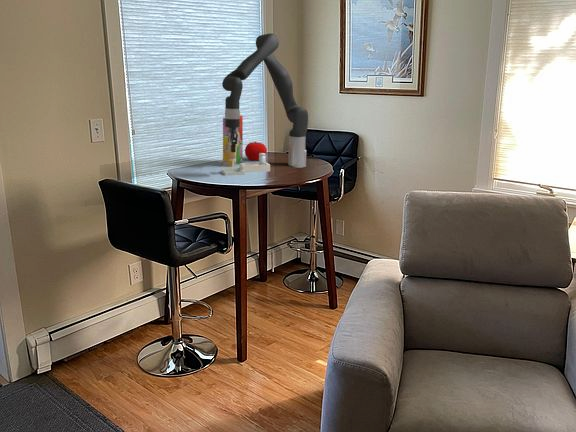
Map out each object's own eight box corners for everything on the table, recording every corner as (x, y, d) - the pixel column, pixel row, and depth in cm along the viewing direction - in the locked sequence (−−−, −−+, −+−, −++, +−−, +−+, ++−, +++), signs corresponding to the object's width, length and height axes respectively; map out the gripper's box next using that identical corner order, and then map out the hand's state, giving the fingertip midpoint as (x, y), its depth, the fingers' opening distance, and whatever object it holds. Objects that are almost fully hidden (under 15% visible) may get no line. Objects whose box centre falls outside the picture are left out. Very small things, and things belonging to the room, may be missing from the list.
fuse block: (266, 170, 294) (266, 162, 292) (270, 173, 287) (270, 164, 286) (239, 171, 289) (239, 163, 288) (242, 174, 283) (242, 165, 281)
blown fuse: (234, 159, 280) (234, 142, 278) (236, 160, 277) (236, 143, 275) (228, 159, 279) (228, 142, 277) (229, 161, 276) (229, 143, 274)
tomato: (242, 158, 327) (242, 140, 323) (262, 157, 332) (262, 139, 329) (249, 162, 316) (249, 143, 313) (269, 161, 322) (270, 142, 319)
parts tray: (239, 172, 286) (239, 168, 286) (244, 176, 277) (244, 171, 277) (221, 173, 283) (221, 168, 283) (225, 177, 274) (225, 172, 274)
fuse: (264, 169, 291) (264, 152, 289) (265, 170, 288) (266, 154, 286) (258, 169, 290) (258, 153, 288) (259, 171, 287) (260, 154, 284)
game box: (232, 168, 297) (232, 118, 289) (222, 168, 298) (222, 118, 290) (242, 162, 316) (242, 115, 309) (233, 161, 317) (233, 114, 310)
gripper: (243, 119, 267) (242, 153, 272) (236, 116, 280) (236, 149, 285) (228, 119, 265) (228, 154, 269) (222, 116, 278) (222, 149, 282)
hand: (232, 151), depth 277 cm, fingers closed on blown fuse, 3 cm apart
